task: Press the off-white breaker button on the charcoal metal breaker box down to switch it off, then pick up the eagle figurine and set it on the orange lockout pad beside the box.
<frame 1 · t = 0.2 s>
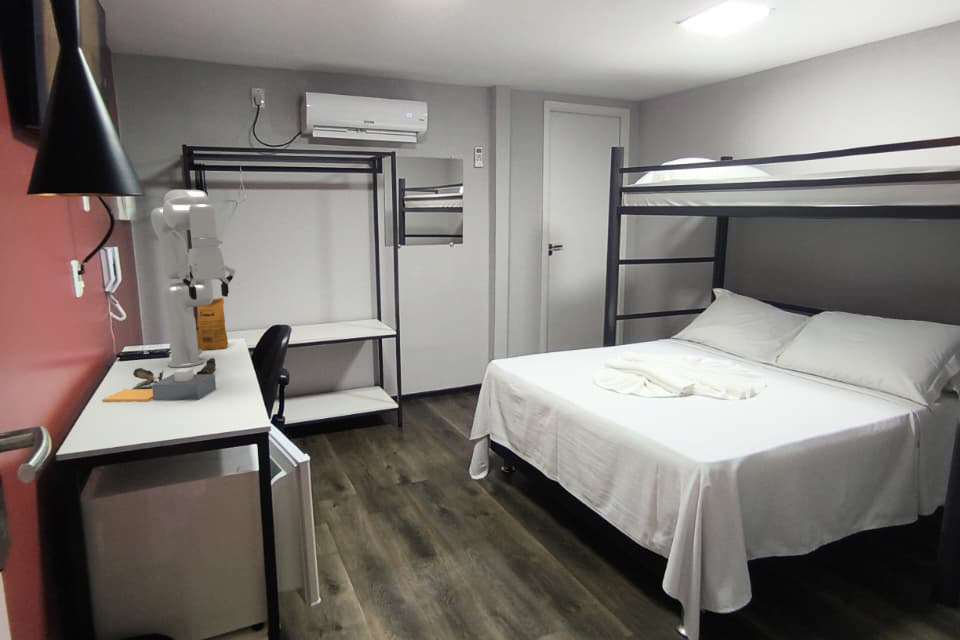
hand: (209, 297, 188), 30 cm above the table, tool pointing down, fingers open, 9 cm apart
lockout pad: (135, 396, 186), on the table
hand tool: (207, 375, 212), on the table
breaker box: (185, 394, 188), on the table
eagle figurine: (148, 387, 197), on the table
breaker button: (184, 376, 187), point 6 cm above the table, slide at 0.0 cm
coffee package: (212, 348, 257), on the table
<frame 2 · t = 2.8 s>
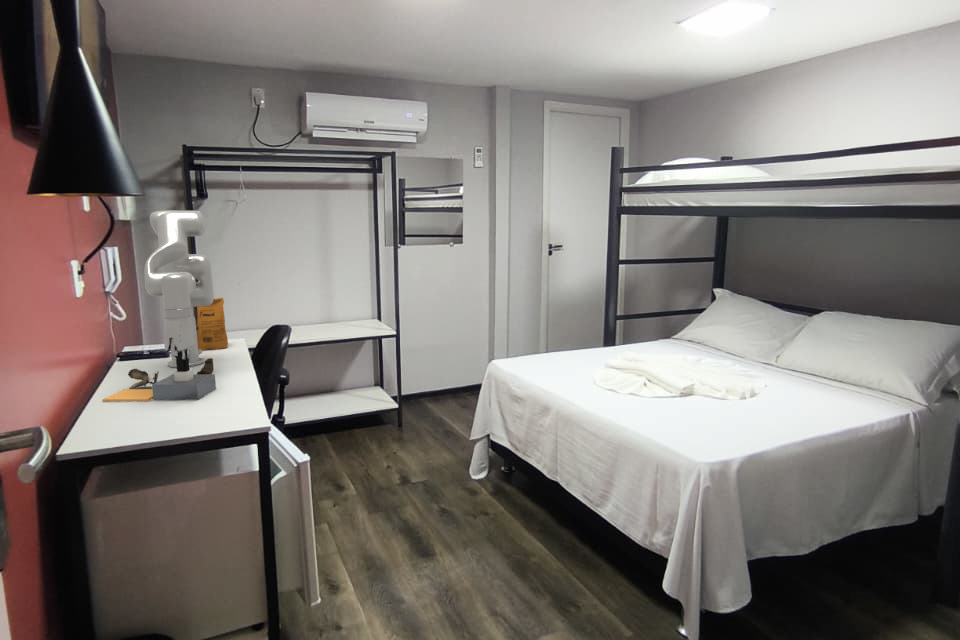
hand: (183, 370, 186), 8 cm above the table, tool pointing down, fingers closed
eagle figurine: (143, 388, 196), on the table
breaker button: (184, 376, 187), point 6 cm above the table, slide at 0.2 cm, touching gripper
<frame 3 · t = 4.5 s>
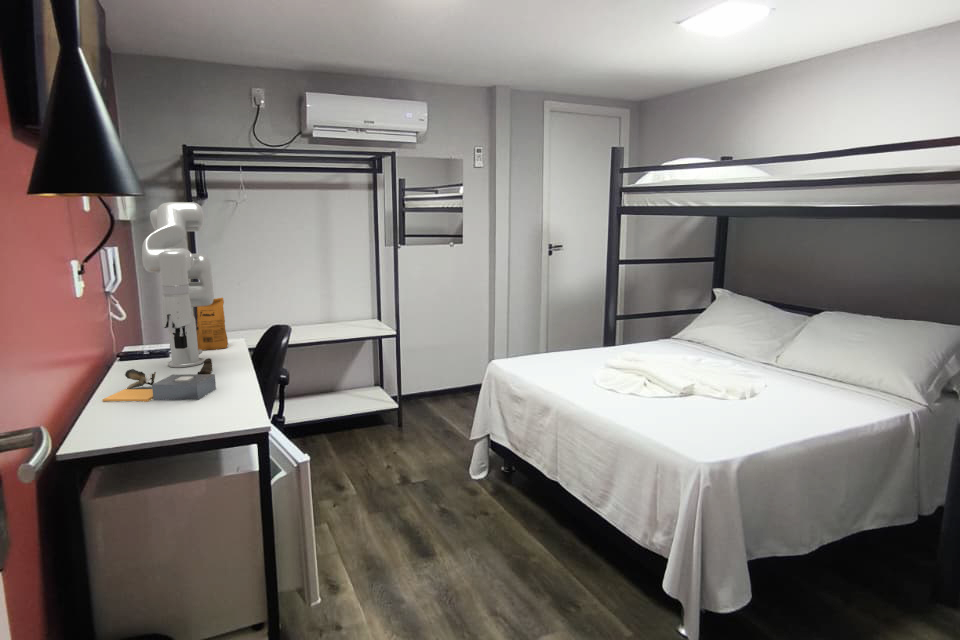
hand: (181, 347, 186), 15 cm above the table, tool pointing down, fingers closed
breaker button: (184, 384, 187), point 3 cm above the table, slide at 2.6 cm
everything else where it was.
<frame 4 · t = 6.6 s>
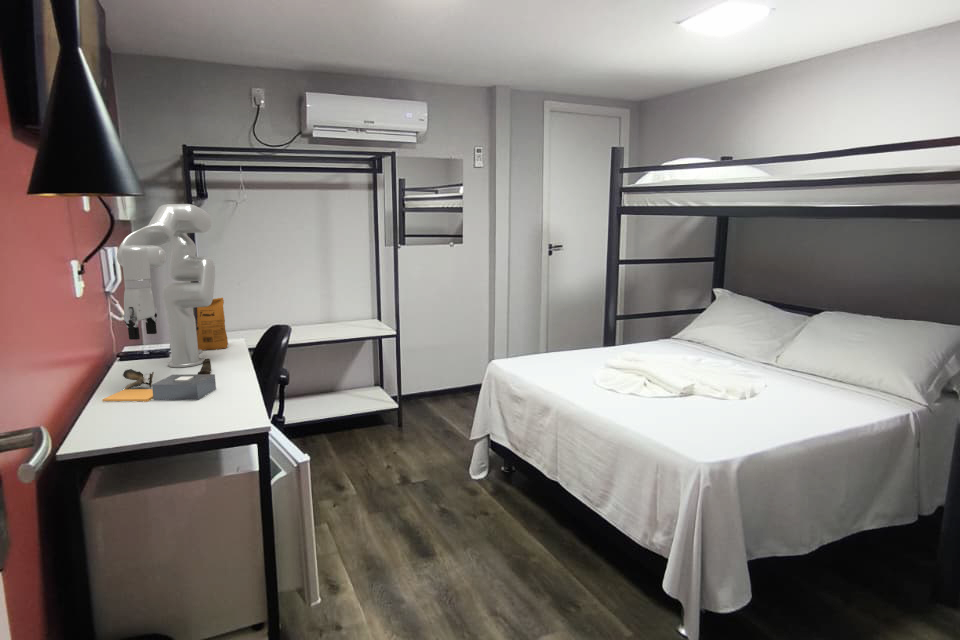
hand: (143, 336, 194), 17 cm above the table, tool pointing down, fingers open, 9 cm apart
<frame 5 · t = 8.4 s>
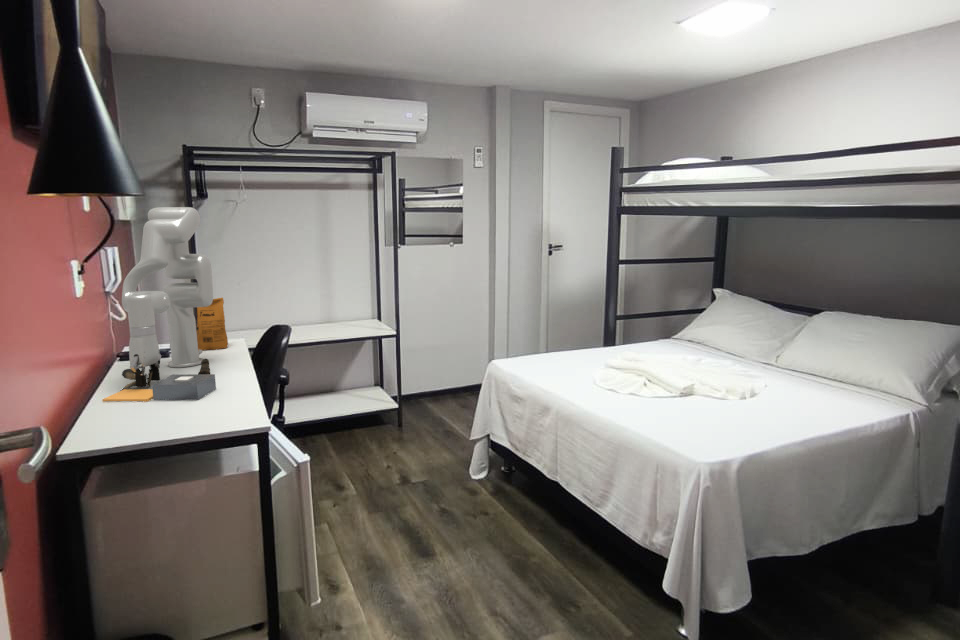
hand: (148, 383, 196), 1 cm above the table, tool pointing down, fingers closed on eagle figurine, 7 cm apart
eagle figurine: (137, 388, 196), on the table, touching gripper
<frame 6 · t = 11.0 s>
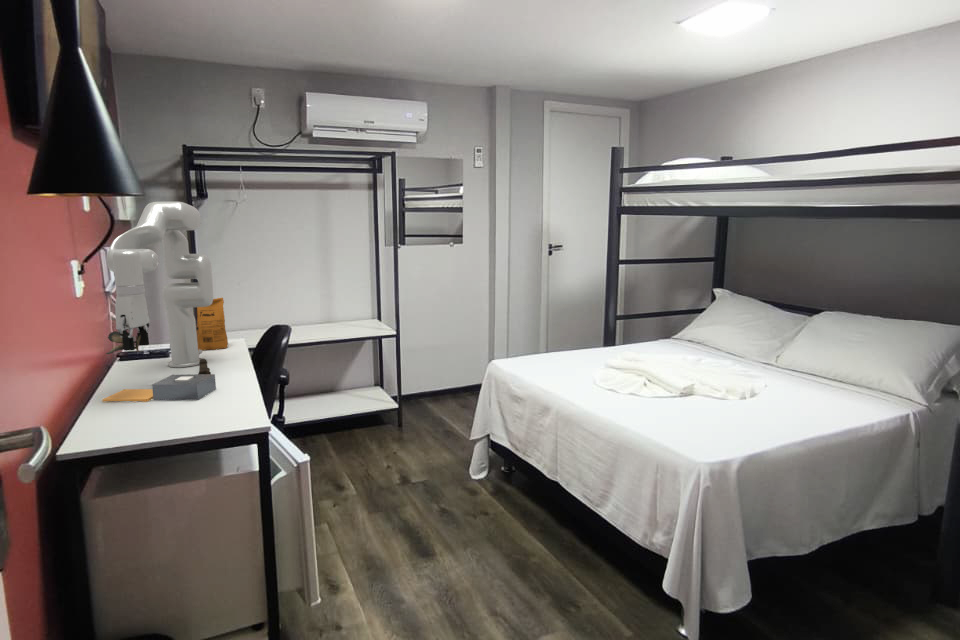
hand: (136, 347, 184), 16 cm above the table, tool pointing down, fingers closed on eagle figurine, 6 cm apart
eagle figurine: (124, 352, 183), point 14 cm above the table, touching gripper
when the fingers open (3 cm above the table, at t = 13.9 s): eagle figurine stays where it is, resting on lockout pad.
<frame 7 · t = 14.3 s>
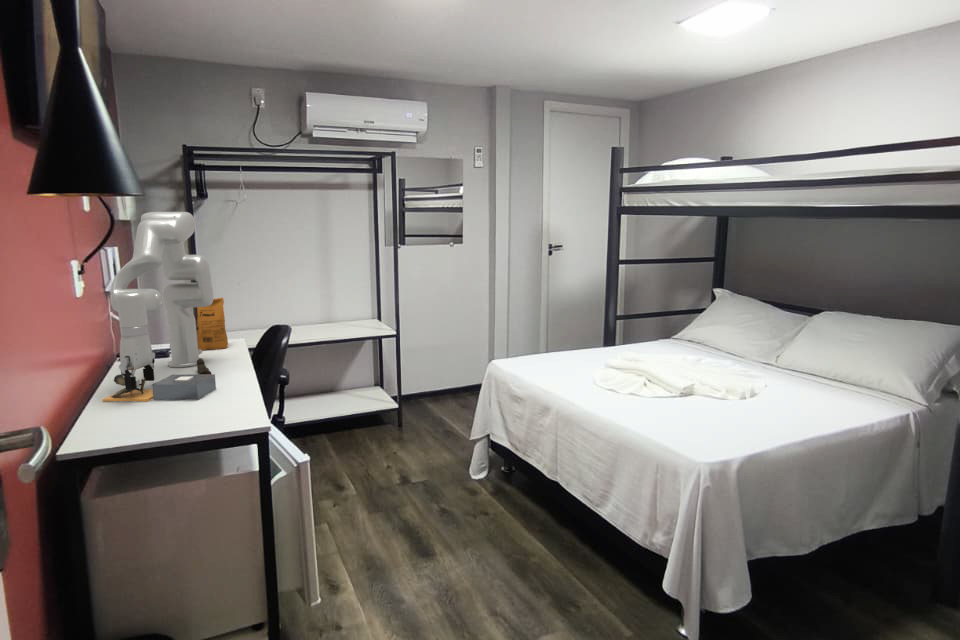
hand: (140, 384, 185), 4 cm above the table, tool pointing down, fingers open, 9 cm apart
eagle figurine: (129, 395, 185), point 1 cm above the table, touching lockout pad
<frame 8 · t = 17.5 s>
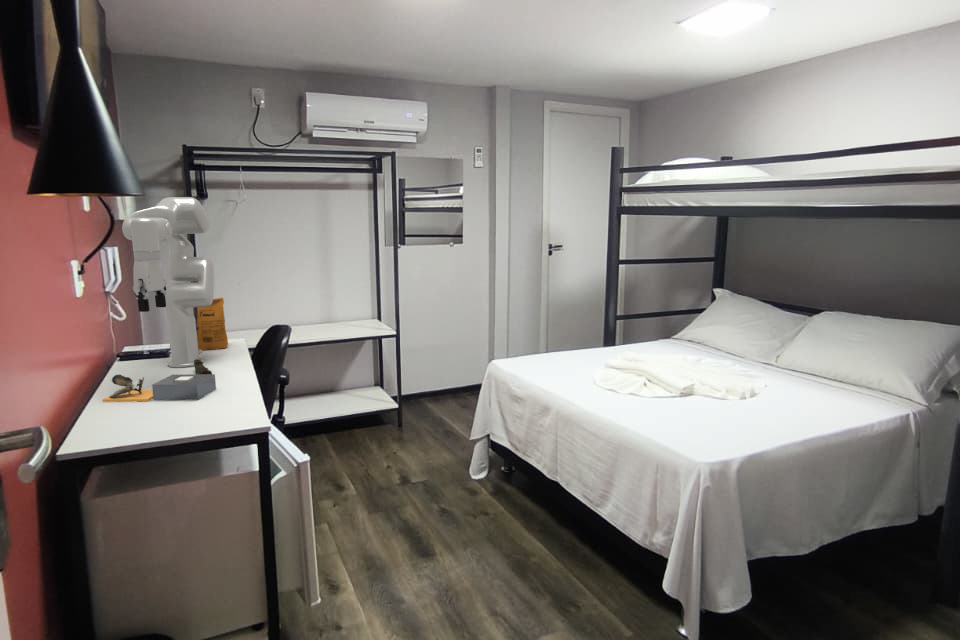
hand: (152, 309, 192), 26 cm above the table, tool pointing down, fingers open, 9 cm apart
at the end: breaker button slide at 2.6 cm; eagle figurine inside the target area on the lockout pad (2.2 cm from its centre), point 0.6 cm above the lockout pad's base; eagle figurine tilted 1° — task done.
